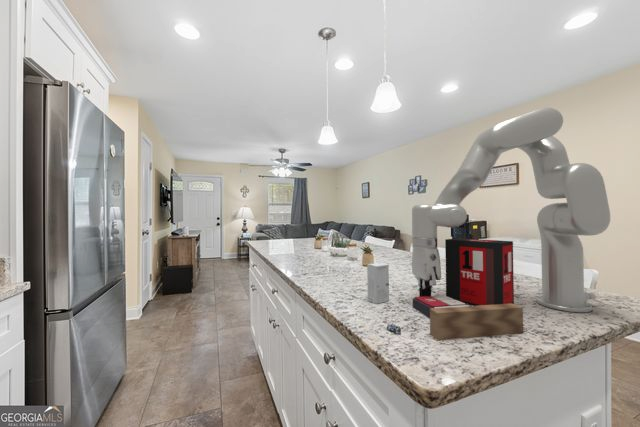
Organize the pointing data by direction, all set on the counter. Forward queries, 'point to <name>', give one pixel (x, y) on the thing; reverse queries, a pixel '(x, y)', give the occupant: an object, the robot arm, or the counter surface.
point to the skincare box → (378, 282)
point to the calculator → (434, 303)
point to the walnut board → (475, 321)
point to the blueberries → (394, 329)
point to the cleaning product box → (479, 271)
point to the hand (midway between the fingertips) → (425, 300)
